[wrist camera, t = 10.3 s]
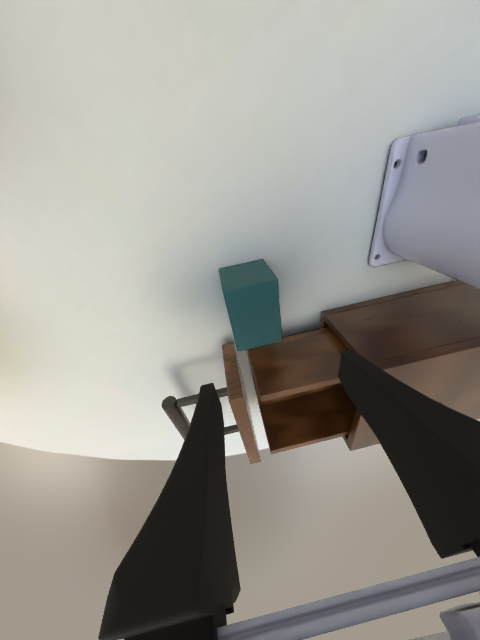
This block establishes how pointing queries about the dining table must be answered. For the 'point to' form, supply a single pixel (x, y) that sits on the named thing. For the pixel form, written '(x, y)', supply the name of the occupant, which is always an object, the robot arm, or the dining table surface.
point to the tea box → (252, 303)
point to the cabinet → (417, 345)
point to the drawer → (284, 393)
